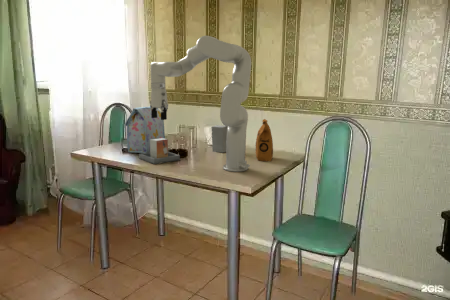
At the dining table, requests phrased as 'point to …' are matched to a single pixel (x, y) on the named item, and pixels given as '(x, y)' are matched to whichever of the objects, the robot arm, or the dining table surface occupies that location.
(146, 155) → the tray
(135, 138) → the lunch bag
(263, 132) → the coffee package
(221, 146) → the skincare box
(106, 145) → the dining table surface
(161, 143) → the small box
